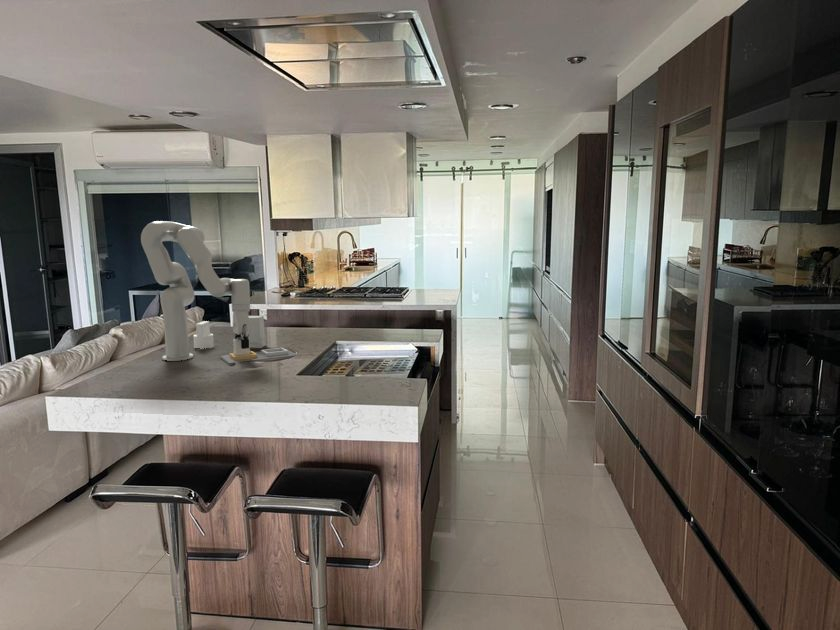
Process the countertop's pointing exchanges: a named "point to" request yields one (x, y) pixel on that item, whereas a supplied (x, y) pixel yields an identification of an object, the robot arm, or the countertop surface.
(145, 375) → the countertop surface
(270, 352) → the socket panel
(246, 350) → the plug
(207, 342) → the base with upright slab
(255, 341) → the skincare box
